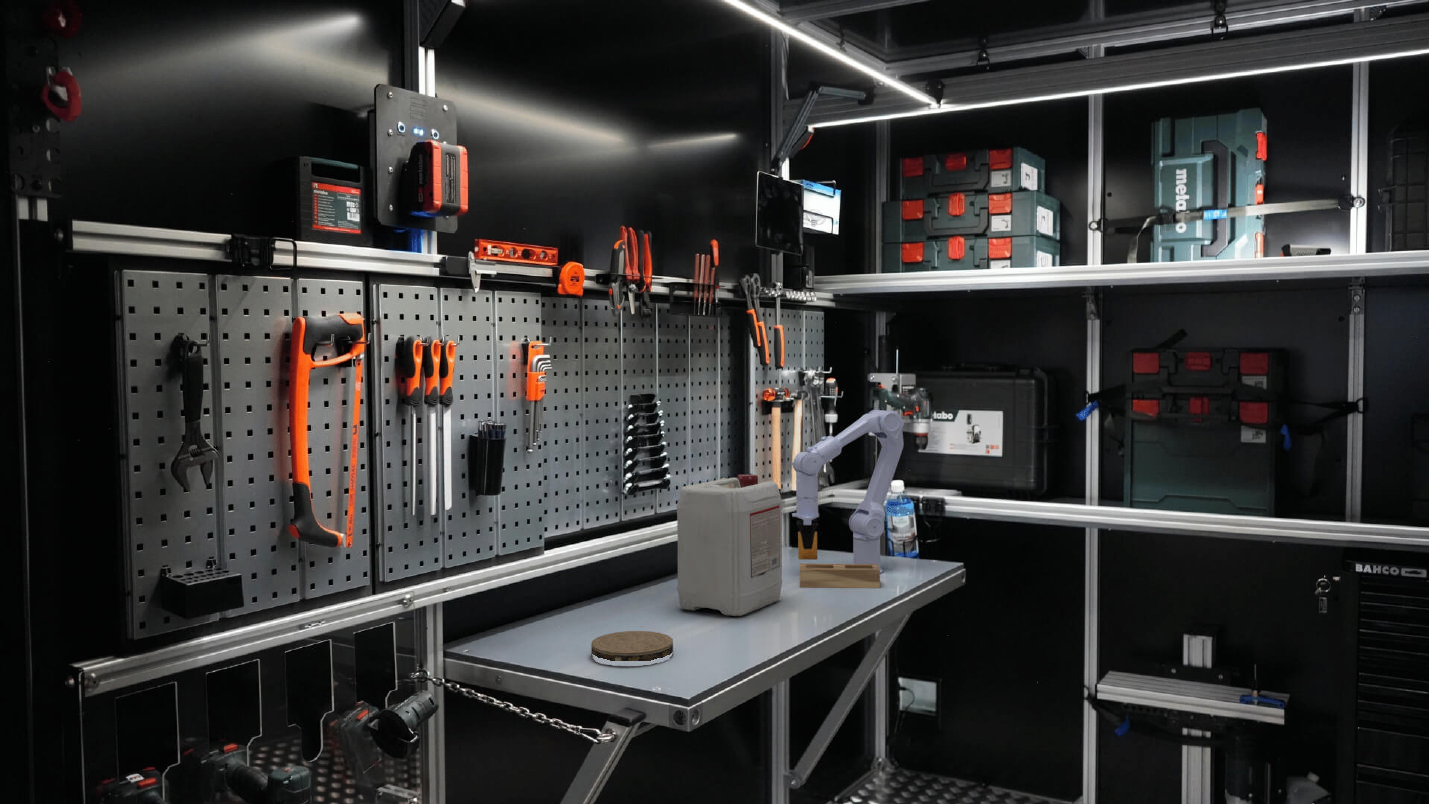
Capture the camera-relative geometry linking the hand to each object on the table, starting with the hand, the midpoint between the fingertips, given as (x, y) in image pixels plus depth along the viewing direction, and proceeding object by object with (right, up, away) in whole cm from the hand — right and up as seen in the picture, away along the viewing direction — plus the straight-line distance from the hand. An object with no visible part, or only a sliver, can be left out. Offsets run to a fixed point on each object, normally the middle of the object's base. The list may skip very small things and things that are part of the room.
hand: (807, 548), depth 270 cm
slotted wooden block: (+7, -8, -11) cm, 15 cm away
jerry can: (-21, -9, -33) cm, 40 cm away
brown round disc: (-41, -11, -73) cm, 85 cm away
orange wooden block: (0, -3, 0) cm, 3 cm away
